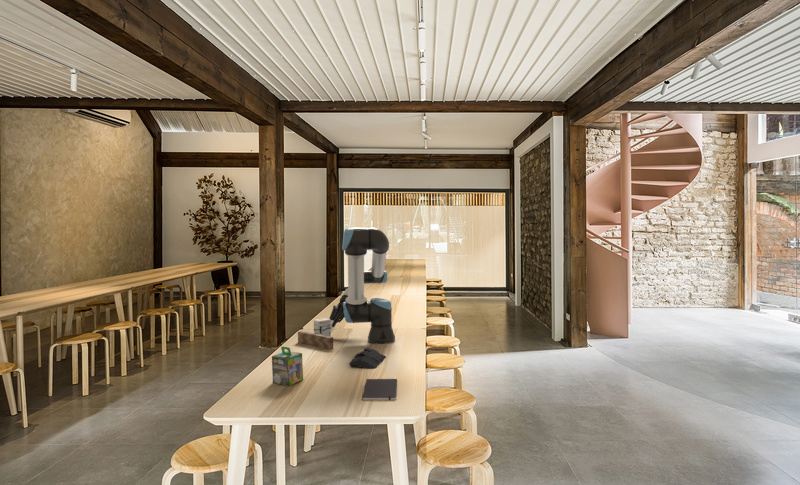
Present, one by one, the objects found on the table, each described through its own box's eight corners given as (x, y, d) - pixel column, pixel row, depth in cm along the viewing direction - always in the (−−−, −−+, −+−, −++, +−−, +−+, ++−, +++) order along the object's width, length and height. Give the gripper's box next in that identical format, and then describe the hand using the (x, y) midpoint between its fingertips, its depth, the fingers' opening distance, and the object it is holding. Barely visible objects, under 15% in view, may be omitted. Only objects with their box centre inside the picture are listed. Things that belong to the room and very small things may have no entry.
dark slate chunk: (343, 368, 220) (343, 358, 220) (357, 355, 242) (357, 346, 241) (376, 370, 217) (376, 359, 217) (387, 356, 238) (387, 347, 238)
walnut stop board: (333, 348, 253) (333, 337, 253) (330, 349, 251) (329, 338, 251) (301, 341, 268) (301, 330, 268) (298, 342, 267) (297, 331, 266)
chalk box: (303, 380, 203) (303, 345, 202) (288, 386, 195) (287, 350, 194) (287, 376, 208) (286, 342, 207) (271, 383, 200) (270, 347, 199)
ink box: (318, 342, 267) (317, 321, 266) (313, 340, 270) (313, 319, 270) (331, 339, 272) (331, 318, 272) (326, 338, 276) (326, 317, 275)
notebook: (366, 382, 201) (362, 401, 180) (366, 378, 201) (361, 397, 180) (397, 382, 201) (396, 401, 179) (397, 378, 201) (396, 397, 179)
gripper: (359, 302, 287) (339, 336, 275) (343, 300, 295) (323, 333, 283) (352, 295, 282) (332, 328, 270) (337, 293, 291) (316, 325, 278)
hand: (328, 331), depth 276 cm, fingers closed
